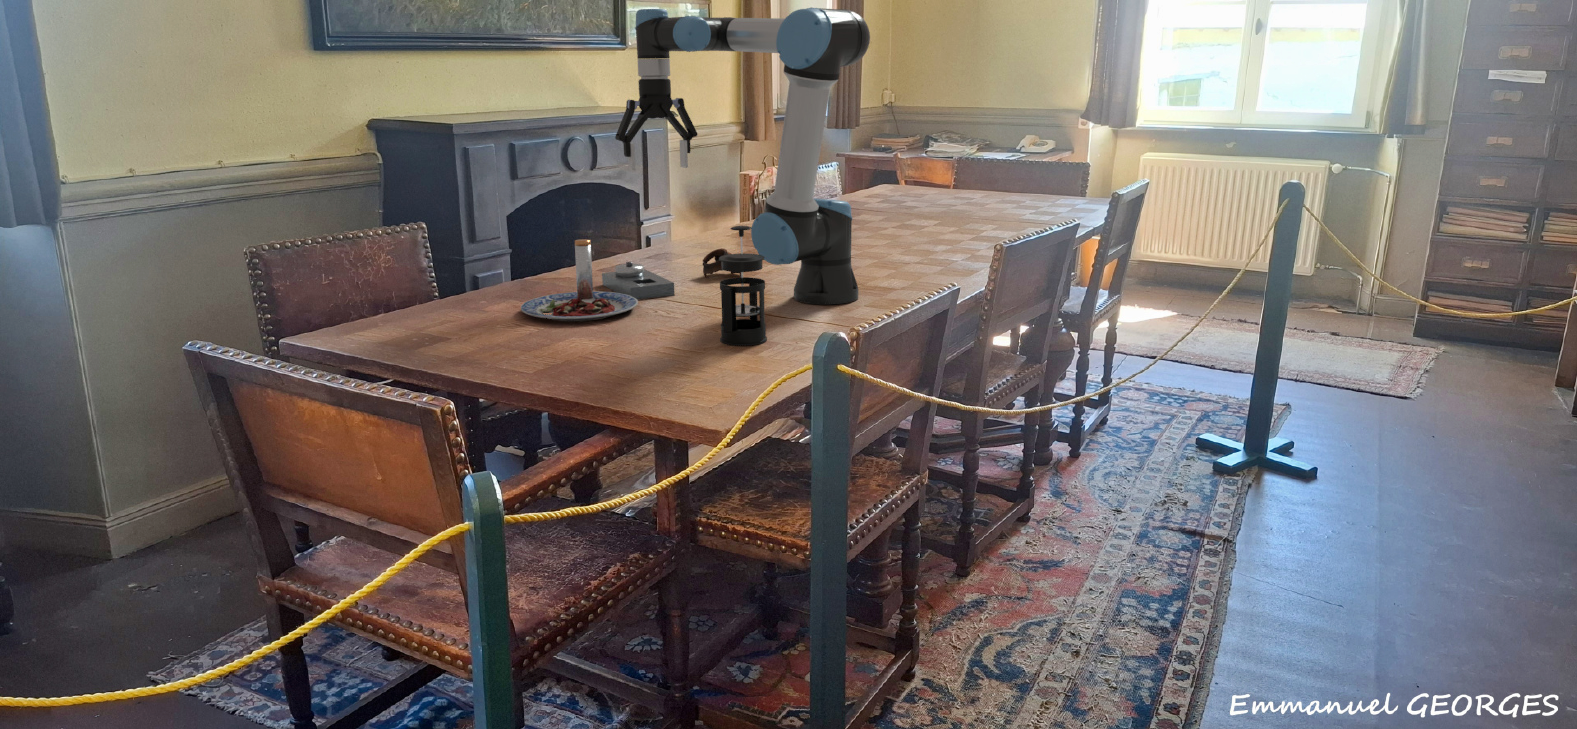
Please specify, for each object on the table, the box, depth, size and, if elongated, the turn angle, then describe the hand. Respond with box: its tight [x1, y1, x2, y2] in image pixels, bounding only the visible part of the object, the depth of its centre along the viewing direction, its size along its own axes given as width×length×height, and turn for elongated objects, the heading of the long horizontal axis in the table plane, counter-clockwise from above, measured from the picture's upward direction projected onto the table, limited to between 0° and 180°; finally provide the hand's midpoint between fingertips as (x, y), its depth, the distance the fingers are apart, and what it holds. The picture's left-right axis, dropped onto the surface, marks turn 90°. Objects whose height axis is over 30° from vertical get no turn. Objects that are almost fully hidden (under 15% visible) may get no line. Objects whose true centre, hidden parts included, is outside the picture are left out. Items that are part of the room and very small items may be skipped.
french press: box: [719, 225, 768, 347], centre depth 214 cm, size 12×9×23 cm
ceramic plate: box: [520, 290, 639, 322], centre depth 242 cm, size 26×26×3 cm
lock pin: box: [574, 238, 594, 300], centre depth 243 cm, size 4×4×13 cm
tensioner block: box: [601, 261, 675, 301], centre depth 263 cm, size 20×11×6 cm, turn 28°
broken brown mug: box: [701, 248, 741, 278], centre depth 279 cm, size 12×10×8 cm
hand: (658, 169), depth 261 cm, fingers open, 13 cm apart
